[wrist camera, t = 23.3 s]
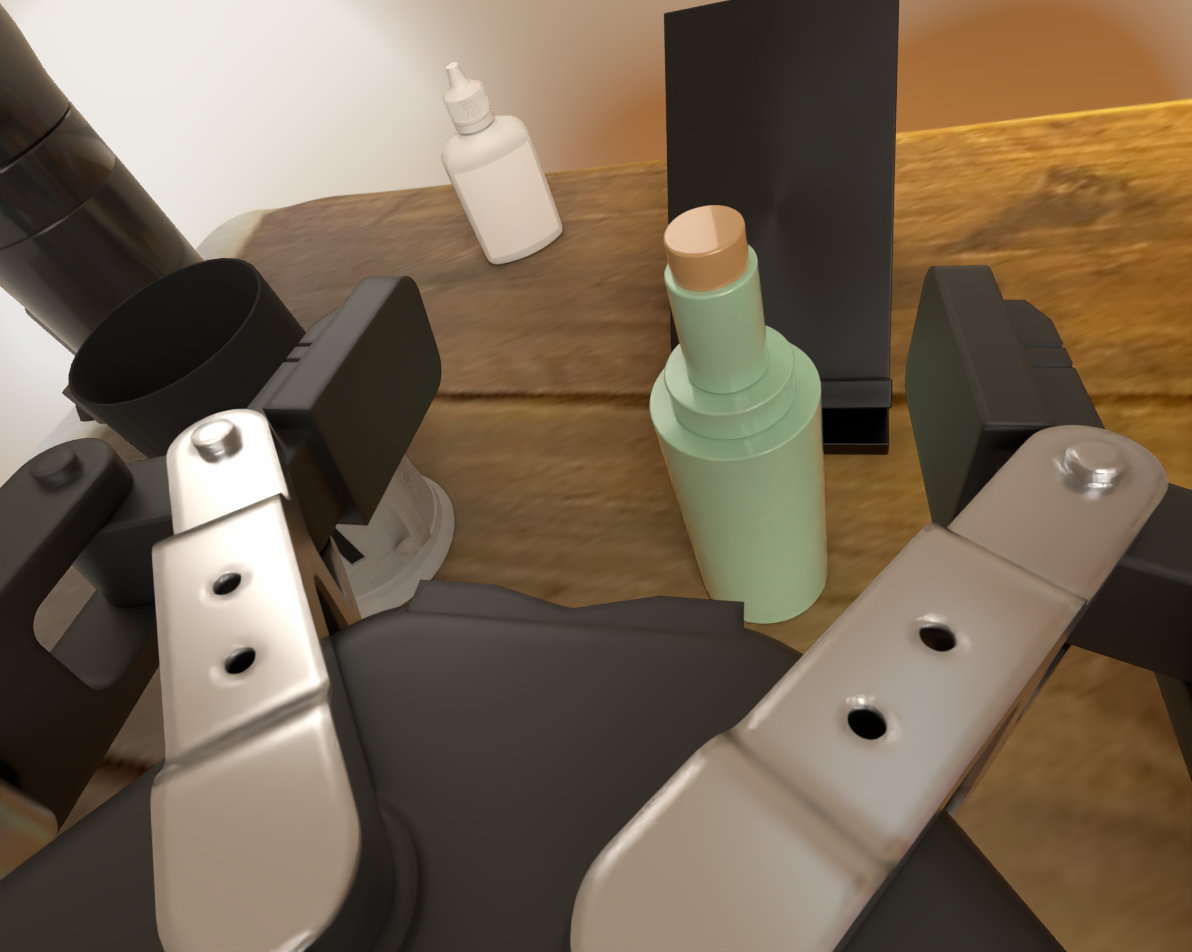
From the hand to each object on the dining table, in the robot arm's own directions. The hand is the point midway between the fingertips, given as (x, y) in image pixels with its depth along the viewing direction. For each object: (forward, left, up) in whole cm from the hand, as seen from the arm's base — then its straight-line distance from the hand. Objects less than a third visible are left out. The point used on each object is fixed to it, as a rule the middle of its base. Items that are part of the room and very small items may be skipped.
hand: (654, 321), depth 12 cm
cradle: (-1, +20, -20) cm, 28 cm away
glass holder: (-18, +5, -20) cm, 27 cm away
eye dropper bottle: (-19, +30, -20) cm, 41 cm away
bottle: (-1, +12, -17) cm, 21 cm away
